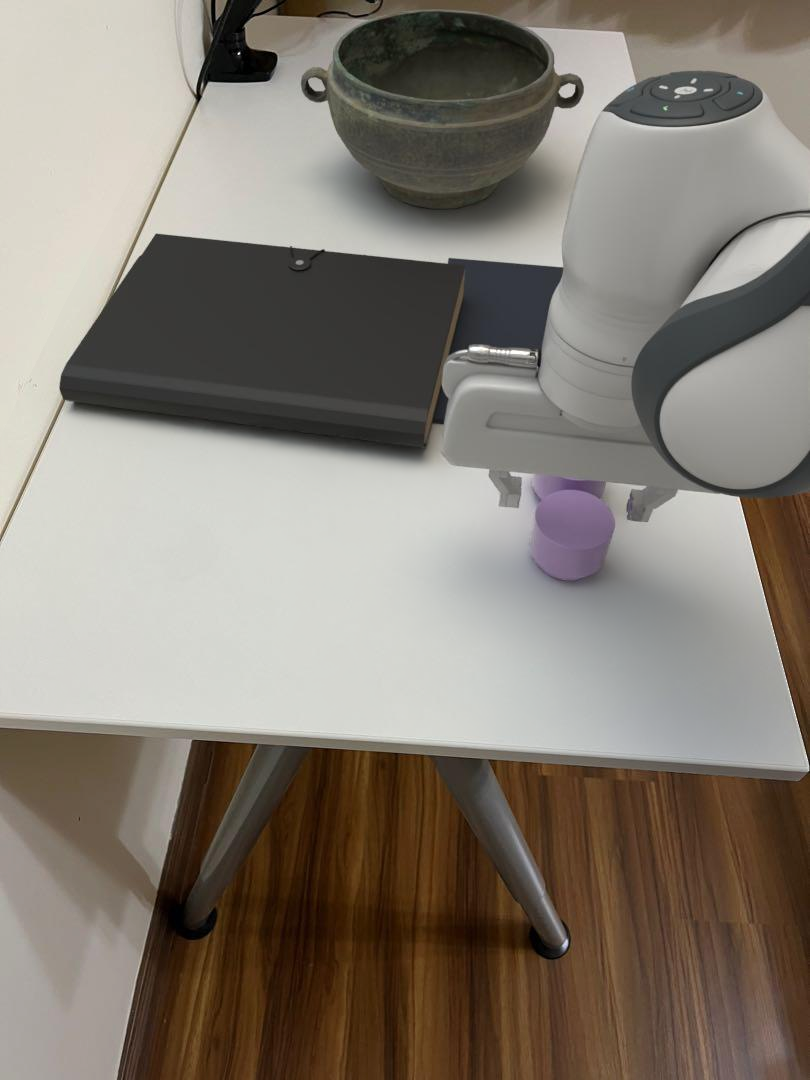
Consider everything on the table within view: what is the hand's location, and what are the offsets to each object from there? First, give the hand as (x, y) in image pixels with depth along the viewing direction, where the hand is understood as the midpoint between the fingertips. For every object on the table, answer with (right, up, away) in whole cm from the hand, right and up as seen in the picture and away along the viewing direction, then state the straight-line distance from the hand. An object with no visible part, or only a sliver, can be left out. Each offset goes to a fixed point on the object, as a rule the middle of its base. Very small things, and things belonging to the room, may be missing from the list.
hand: (572, 508), depth 63 cm
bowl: (-8, +42, +42) cm, 60 cm away
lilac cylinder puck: (0, -4, +4) cm, 6 cm away
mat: (+1, +17, +22) cm, 28 cm away
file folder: (-25, +16, +20) cm, 36 cm away
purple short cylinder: (+1, +2, +9) cm, 9 cm away
